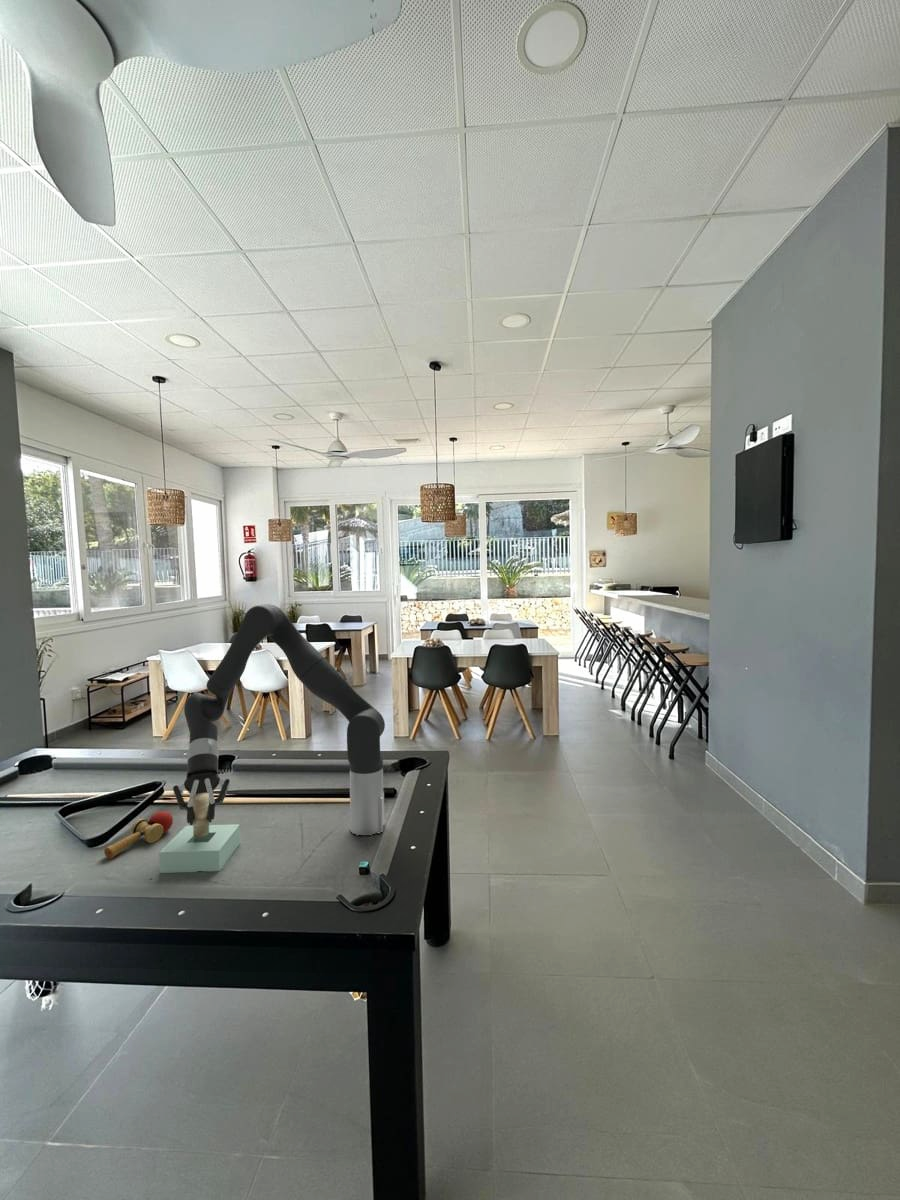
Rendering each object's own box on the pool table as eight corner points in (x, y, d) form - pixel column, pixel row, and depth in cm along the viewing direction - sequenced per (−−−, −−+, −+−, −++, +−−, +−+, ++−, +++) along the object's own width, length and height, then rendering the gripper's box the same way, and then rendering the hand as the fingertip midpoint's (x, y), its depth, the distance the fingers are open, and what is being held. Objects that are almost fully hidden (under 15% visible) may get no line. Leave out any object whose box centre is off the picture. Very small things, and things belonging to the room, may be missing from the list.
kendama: (122, 866, 129) (182, 826, 146) (115, 843, 129) (176, 805, 145) (102, 866, 132) (163, 826, 149) (95, 843, 131) (157, 806, 148)
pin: (211, 831, 133) (211, 792, 133) (205, 837, 129) (205, 798, 129) (197, 831, 133) (196, 792, 132) (190, 838, 129) (190, 798, 129)
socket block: (240, 842, 138) (239, 824, 138) (219, 871, 124) (219, 850, 124) (186, 844, 137) (186, 825, 137) (159, 873, 123) (159, 852, 123)
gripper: (172, 755, 135) (167, 821, 124) (231, 749, 140) (231, 811, 129) (174, 769, 140) (169, 833, 129) (231, 762, 145) (231, 823, 134)
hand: (200, 822), depth 129 cm, fingers closed on pin, 3 cm apart
